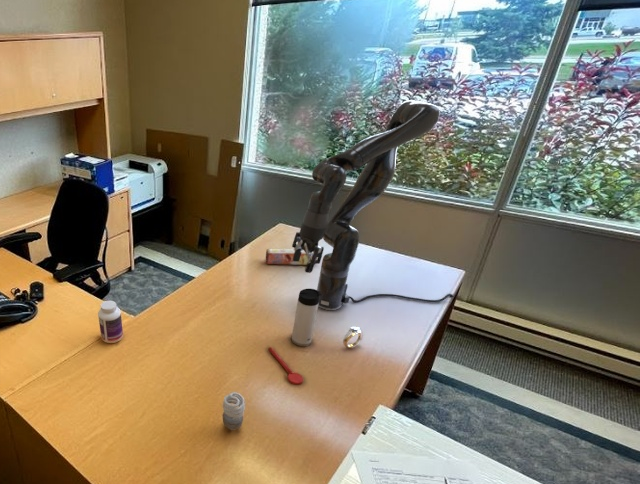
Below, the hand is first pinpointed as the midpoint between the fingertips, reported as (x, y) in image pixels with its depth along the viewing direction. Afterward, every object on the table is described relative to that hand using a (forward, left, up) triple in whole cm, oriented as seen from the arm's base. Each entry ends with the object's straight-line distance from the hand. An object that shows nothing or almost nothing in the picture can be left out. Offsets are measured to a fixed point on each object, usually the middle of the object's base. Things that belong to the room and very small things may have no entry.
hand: (301, 266), depth 146 cm
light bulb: (+46, +41, -21) cm, 65 cm away
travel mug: (+7, +15, -21) cm, 26 cm away
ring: (-6, +23, -21) cm, 31 cm away
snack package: (-20, -34, -21) cm, 45 cm away
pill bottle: (+69, -8, -21) cm, 72 cm away
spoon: (+19, +24, -20) cm, 37 cm away
